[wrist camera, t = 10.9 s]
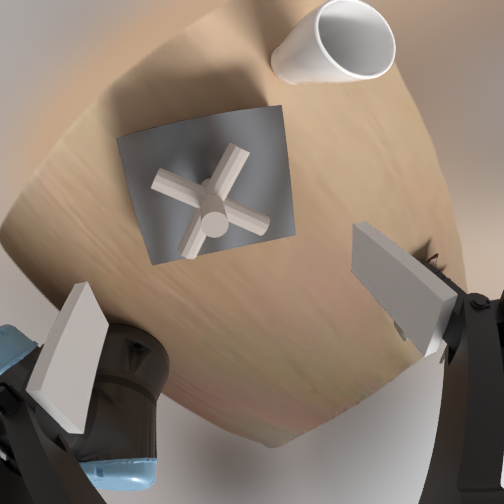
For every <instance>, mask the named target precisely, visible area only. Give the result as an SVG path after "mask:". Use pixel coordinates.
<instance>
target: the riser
mask: <svg viewBox="0 0 504 504" xmlns="http://www.w3.org/2000/svg"><path fill="white" fill-rule="evenodd" d="M117 143H118V147H119V152H120V156H121V160H122V164H123V168H124V172H125V176H126V180H127V184H128V188H129V192H130V195H131V199H132V203H133V206H134V210H135V213H136V216H137V220H138V223H139V226H140V230H141V233H142V236H143V239H144V242H145V246H146V249H147V252H148V255H149V258H150V261H151V264H152V265H156V264H161V263H166V262H170V261H175V260H180V259H184V258H185V257H183V256H181V255H180V254H179V253H178V251H177V248H178V246H179V244H180V241H181V239H182V237H183V235H184V233H185V231H186V228H187V226H188V224H189V222H190V220H191V218H192V216H193V214H194V211H195V209H196V207H194V206H191V205H189V204H187V203H184V202H182V201H180V200H177V199H175V198H173V197H170V196H168V195H166V194H163V193H161V192H159V191H156V190H154V189H151V186H152V184H153V181H154V179H155V177H156V175H157V173H158V171H159V169H160V168H162V169H164V170H167V171H169V172H171V173H174V174H176V175H178V176H180V177H183V178H185V179H187V180H190V181H192V182H194V183H196V184H199V185H201V184H202V182H203V181H204V180H206V179H211V177H212V175H213V173H214V171H215V169H216V167H217V165H218V164H219V162H220V160H221V158H222V156H223V154H224V152H225V150H226V148H227V147H228V145H229V143H232V144H235V145H237V146H239V147H241V148H243V149H245V150H246V151H248V152H250V154H249V156H248V158H247V160H246V161H245V163H244V165H243V167H242V169H241V171H240V172H239V174H238V176H237V178H236V180H235V182H234V184H233V185H232V187H231V189H230V191H229V193H228V195H227V198H230V199H232V200H234V201H236V202H238V203H240V204H243V205H245V206H247V207H249V208H251V209H253V210H255V211H258V212H260V213H262V214H264V215H266V216H268V217H270V223H269V226H268V229H267V231H266V232H265V233H264V234H263V235H262V236H260V235H258V234H256V233H253V232H251V231H249V230H246V229H244V228H242V227H240V226H237V225H235V224H233V223H231V222H228V223H229V226H228V229H227V231H226V233H225V234H223V235H222V236H220V237H216V238H212V237H209V236H206V238H205V240H204V242H203V244H202V246H201V248H200V250H199V252H198V254H197V256H198V255H203V254H208V253H213V252H217V251H222V250H227V249H231V248H236V247H241V246H246V245H250V244H255V243H260V242H265V241H270V240H274V239H279V238H284V237H289V236H294V235H295V223H294V211H293V200H292V190H291V180H290V171H289V161H288V152H287V144H286V136H285V128H284V120H283V112H282V105H278V106H268V107H260V108H252V109H244V110H238V111H231V112H225V113H219V114H213V115H208V116H203V117H198V118H193V119H188V120H183V121H179V122H174V123H170V124H166V125H162V126H158V127H154V128H150V129H146V130H143V131H139V132H136V133H132V134H129V135H125V136H122V137H119V138H117Z"/></svg>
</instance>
